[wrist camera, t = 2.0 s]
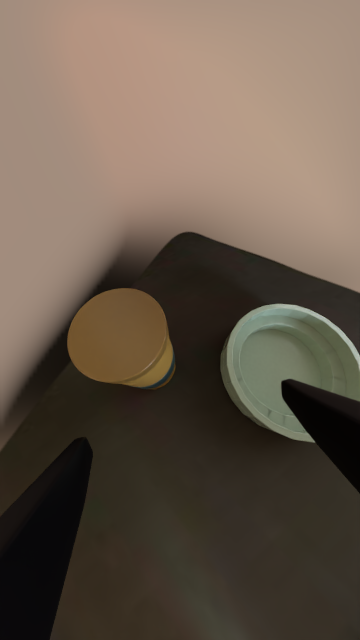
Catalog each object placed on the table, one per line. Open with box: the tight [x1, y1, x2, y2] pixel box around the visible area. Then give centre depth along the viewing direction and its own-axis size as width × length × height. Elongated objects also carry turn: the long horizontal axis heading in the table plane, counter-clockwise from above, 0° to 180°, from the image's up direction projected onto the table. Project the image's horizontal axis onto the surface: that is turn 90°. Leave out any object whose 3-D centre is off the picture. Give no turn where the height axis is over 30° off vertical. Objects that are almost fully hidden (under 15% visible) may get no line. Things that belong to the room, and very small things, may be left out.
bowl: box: [220, 304, 360, 443], centre depth 19 cm, size 13×13×4 cm
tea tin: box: [67, 288, 176, 390], centre depth 16 cm, size 6×6×12 cm
